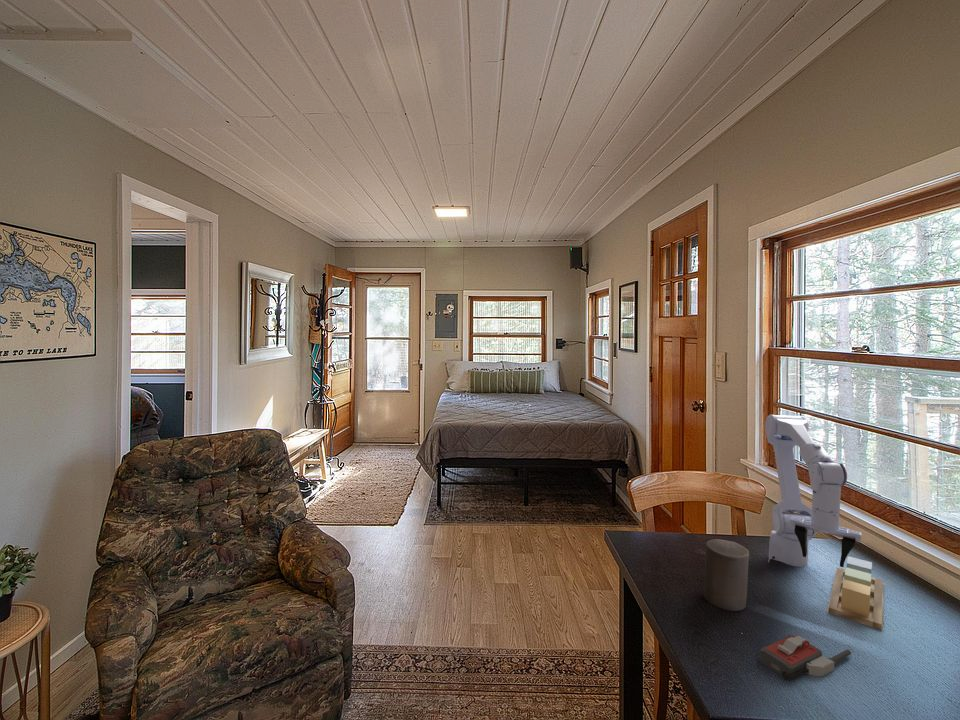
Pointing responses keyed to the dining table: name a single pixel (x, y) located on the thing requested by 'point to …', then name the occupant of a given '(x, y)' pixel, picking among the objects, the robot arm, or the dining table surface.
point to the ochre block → (856, 598)
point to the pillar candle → (726, 574)
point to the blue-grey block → (859, 564)
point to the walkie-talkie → (797, 658)
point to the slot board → (835, 608)
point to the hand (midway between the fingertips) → (822, 560)
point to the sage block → (858, 576)
